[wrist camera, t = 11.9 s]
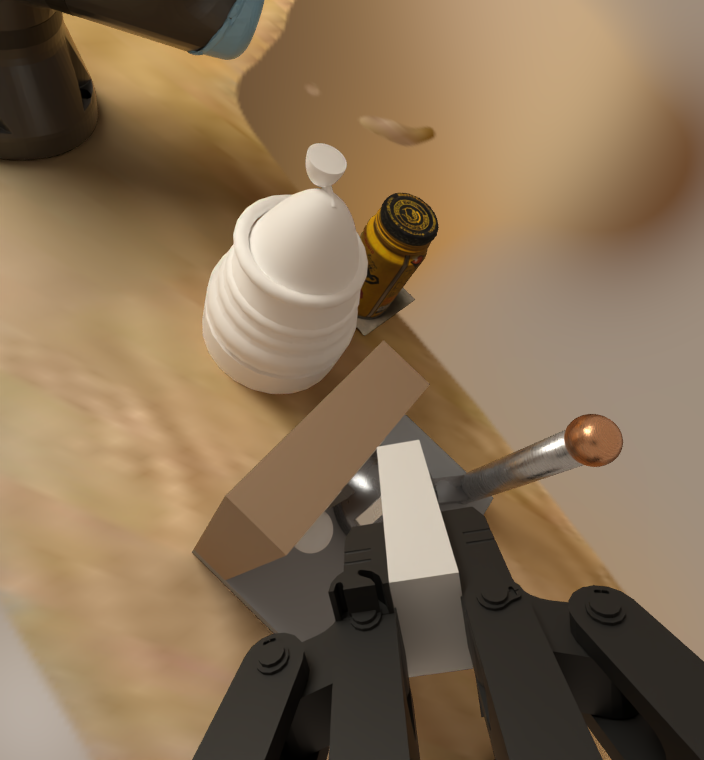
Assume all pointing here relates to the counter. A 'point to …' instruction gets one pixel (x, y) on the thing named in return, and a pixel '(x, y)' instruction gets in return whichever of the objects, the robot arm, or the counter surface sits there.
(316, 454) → the stand
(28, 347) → the counter surface
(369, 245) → the condiment
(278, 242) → the honey pot
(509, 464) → the ball top joystick
